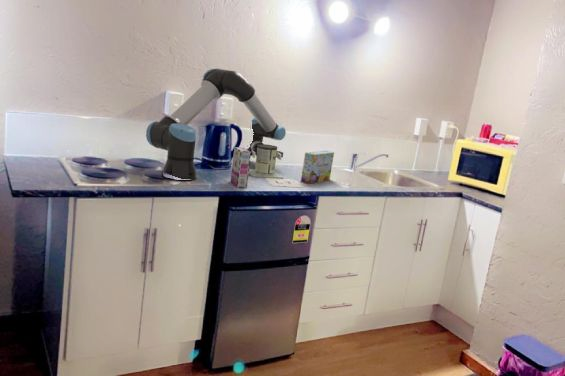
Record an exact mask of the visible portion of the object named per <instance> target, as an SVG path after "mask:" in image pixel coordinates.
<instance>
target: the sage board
mask: <svg viewBox="0 0 565 376" xmlns="http://www.w3.org/2000/svg"><path fill="white" fill-rule="evenodd" d="M248 175H250V176H251V177H252V178H263V179H265V178H275V179H284V176H282V175H281V174H280V173H279V172H277V170H275V172H274V175H261V174H257V173H255V168H253V169H252V168H249V173H248Z"/></svg>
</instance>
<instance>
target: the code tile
mask: <svg viewBox="0 0 565 376" xmlns="http://www.w3.org/2000/svg"><path fill="white" fill-rule="evenodd" d="M264 179H265V180H266V181H267V183H269V184H270V185H271V186H272V187H283V186H286V187H285V188H299V189H300V188H301V189H302V188H305V187H304V186H303V185H302V184H301V183H300V182H299V181H298V180H296V179H288V178H287V179H286V178H283V179H279V178H264ZM278 185H280V186H278ZM281 185H282V186H281Z"/></svg>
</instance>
